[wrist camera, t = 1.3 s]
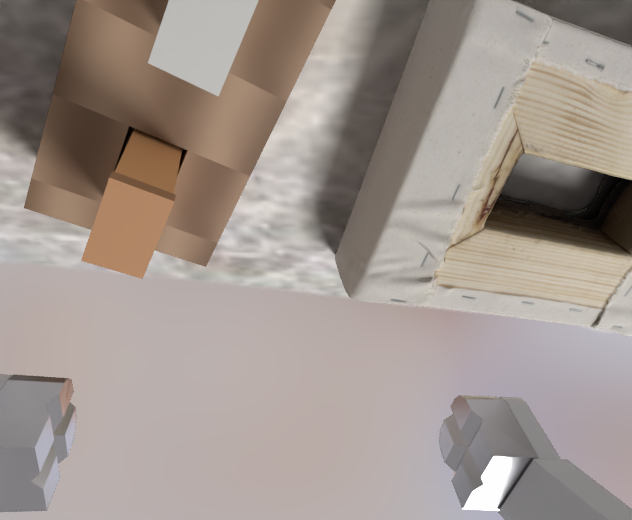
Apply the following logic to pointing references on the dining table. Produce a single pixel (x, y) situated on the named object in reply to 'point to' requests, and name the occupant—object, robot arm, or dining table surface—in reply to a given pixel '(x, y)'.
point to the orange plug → (135, 206)
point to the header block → (166, 114)
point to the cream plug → (201, 40)
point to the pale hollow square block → (498, 172)
